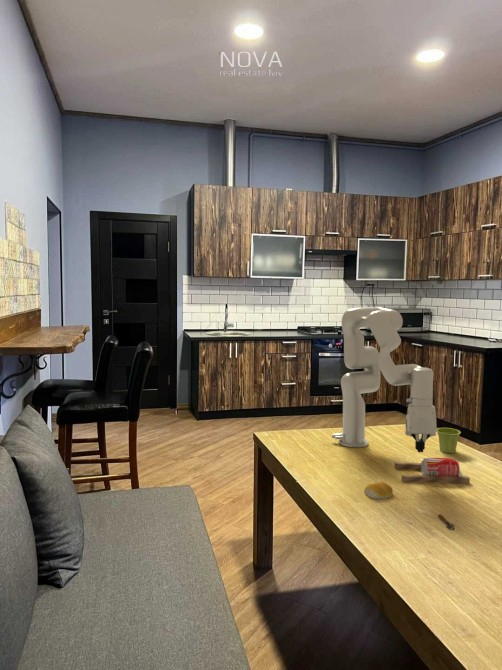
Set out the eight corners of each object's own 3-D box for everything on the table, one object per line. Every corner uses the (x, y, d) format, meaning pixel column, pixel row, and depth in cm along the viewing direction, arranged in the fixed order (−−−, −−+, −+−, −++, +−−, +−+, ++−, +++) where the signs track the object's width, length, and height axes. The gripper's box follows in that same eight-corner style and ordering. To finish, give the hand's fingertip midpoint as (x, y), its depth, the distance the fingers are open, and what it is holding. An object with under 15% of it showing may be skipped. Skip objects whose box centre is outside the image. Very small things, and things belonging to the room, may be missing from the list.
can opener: (437, 517, 154) (437, 513, 154) (445, 517, 154) (445, 513, 154) (449, 532, 145) (449, 528, 145) (457, 532, 145) (457, 528, 145)
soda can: (419, 463, 190) (452, 463, 189) (422, 481, 185) (456, 481, 184) (423, 454, 184) (457, 454, 183) (426, 472, 180) (461, 473, 179)
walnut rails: (402, 482, 181) (402, 476, 181) (394, 467, 195) (394, 462, 195) (469, 483, 179) (469, 478, 179) (456, 469, 193) (456, 463, 193)
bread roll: (397, 495, 170) (397, 484, 170) (378, 502, 165) (378, 490, 165) (378, 487, 177) (378, 476, 177) (359, 493, 172) (360, 481, 172)
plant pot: (463, 450, 214) (464, 430, 213) (454, 456, 207) (455, 435, 206) (441, 446, 221) (442, 426, 220) (432, 451, 214) (432, 431, 213)
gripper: (402, 404, 182) (401, 454, 184) (445, 404, 181) (443, 455, 183) (398, 399, 189) (396, 447, 191) (439, 399, 188) (437, 448, 190)
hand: (419, 451), depth 187 cm, fingers closed
